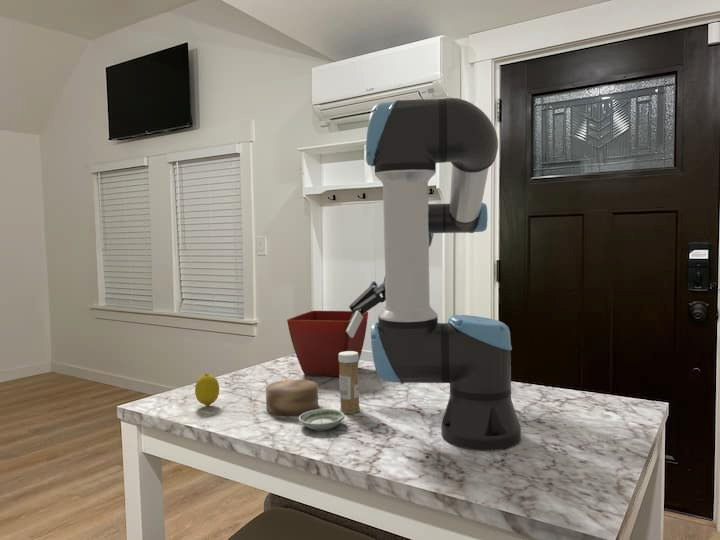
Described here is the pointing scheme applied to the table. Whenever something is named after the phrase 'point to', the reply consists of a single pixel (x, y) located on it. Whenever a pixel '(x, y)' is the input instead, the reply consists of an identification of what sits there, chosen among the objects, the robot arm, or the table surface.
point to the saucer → (321, 419)
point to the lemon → (207, 389)
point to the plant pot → (324, 340)
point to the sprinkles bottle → (349, 381)
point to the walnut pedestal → (291, 397)
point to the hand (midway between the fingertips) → (371, 337)
